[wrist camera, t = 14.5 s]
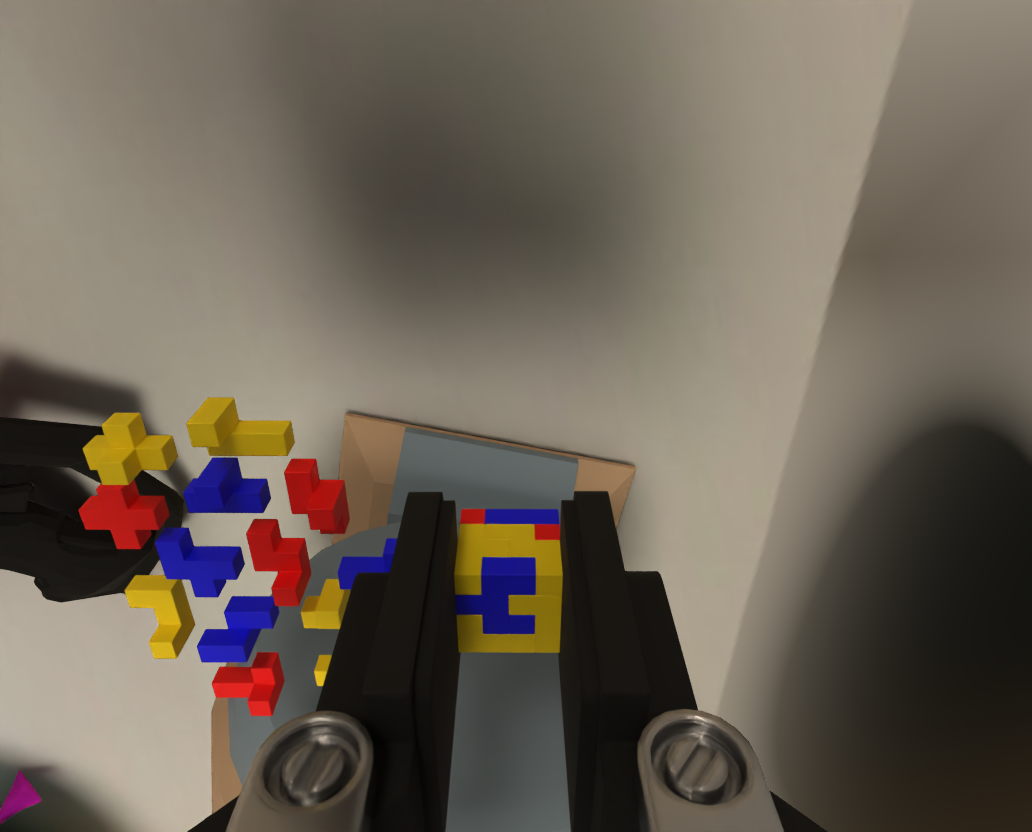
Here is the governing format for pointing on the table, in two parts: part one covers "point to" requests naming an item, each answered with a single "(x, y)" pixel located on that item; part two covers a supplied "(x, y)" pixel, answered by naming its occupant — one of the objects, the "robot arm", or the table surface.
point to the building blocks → (300, 552)
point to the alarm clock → (482, 675)
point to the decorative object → (67, 518)
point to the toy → (19, 797)
